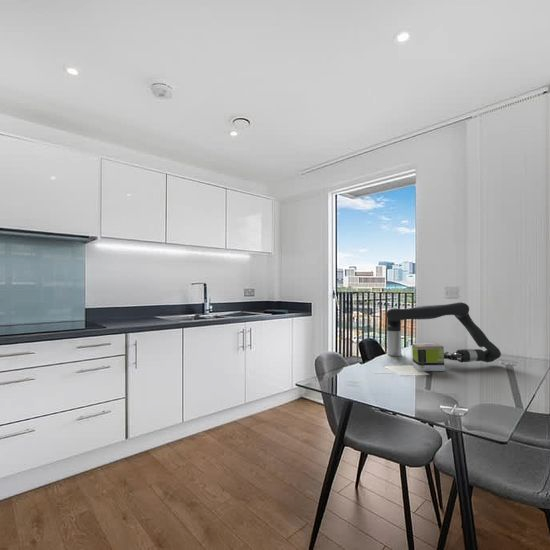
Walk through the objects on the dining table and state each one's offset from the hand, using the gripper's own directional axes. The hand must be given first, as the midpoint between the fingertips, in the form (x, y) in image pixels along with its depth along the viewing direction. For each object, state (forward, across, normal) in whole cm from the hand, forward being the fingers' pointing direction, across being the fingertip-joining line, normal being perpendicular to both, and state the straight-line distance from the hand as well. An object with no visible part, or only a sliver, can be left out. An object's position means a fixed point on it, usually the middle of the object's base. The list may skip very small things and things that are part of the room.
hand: (439, 356), depth 198 cm
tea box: (+8, 0, +7) cm, 11 cm away
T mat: (+28, 0, +7) cm, 29 cm away
